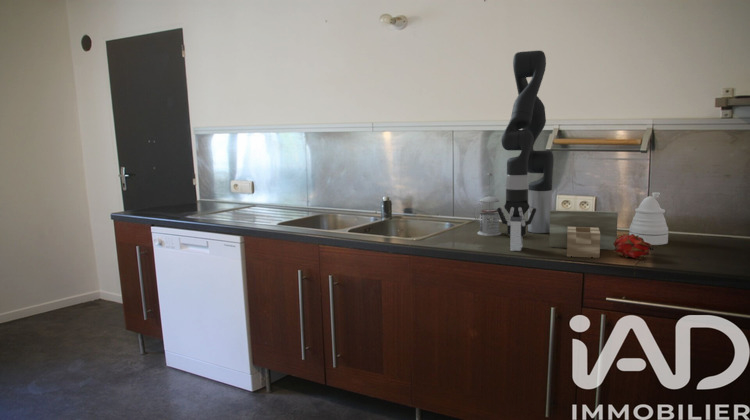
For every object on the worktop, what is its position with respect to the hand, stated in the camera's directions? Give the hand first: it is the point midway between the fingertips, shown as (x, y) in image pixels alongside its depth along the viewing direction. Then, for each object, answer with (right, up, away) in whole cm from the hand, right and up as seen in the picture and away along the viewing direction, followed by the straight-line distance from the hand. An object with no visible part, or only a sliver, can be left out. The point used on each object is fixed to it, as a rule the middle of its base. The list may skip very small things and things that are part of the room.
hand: (516, 235), depth 192 cm
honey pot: (+51, -3, +8) cm, 51 cm away
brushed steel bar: (0, -5, +1) cm, 5 cm away
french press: (-4, -1, +31) cm, 31 cm away
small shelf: (+21, -5, -7) cm, 23 cm away
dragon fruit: (+33, -7, -16) cm, 38 cm away
